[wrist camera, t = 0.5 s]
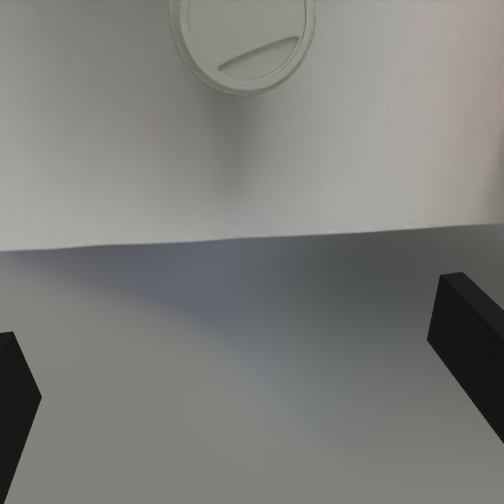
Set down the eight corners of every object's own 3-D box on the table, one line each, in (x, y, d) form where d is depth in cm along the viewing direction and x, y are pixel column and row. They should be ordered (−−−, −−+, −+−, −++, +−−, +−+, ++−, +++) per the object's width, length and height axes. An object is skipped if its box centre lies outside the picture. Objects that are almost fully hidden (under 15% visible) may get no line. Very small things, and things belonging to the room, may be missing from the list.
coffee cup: (165, 62, 34) (158, 82, 24) (182, -64, 31) (182, -104, 20) (265, 86, 36) (299, 114, 26) (292, -29, 33) (345, -50, 22)
